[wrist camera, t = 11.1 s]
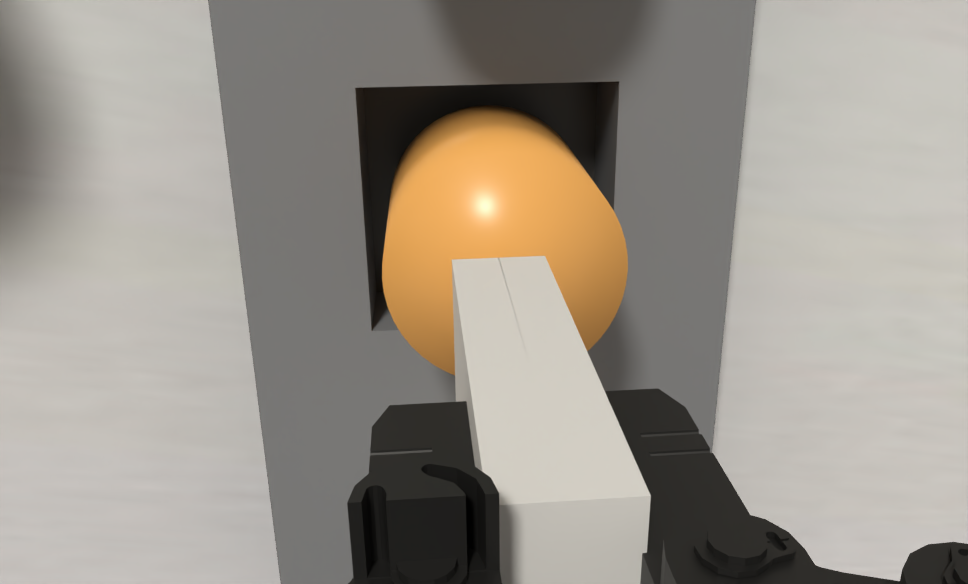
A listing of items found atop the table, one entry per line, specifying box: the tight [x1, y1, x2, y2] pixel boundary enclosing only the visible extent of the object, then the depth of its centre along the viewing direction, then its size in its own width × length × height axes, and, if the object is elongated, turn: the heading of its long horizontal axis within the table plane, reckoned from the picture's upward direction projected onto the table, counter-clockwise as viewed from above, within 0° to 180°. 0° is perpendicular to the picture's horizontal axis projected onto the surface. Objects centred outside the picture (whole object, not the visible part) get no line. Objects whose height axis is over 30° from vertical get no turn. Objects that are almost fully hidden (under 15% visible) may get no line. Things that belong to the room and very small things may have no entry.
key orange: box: [382, 105, 628, 375], centre depth 19 cm, size 5×5×5 cm
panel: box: [208, 0, 756, 584], centre depth 22 cm, size 12×30×3 cm, turn 1°
